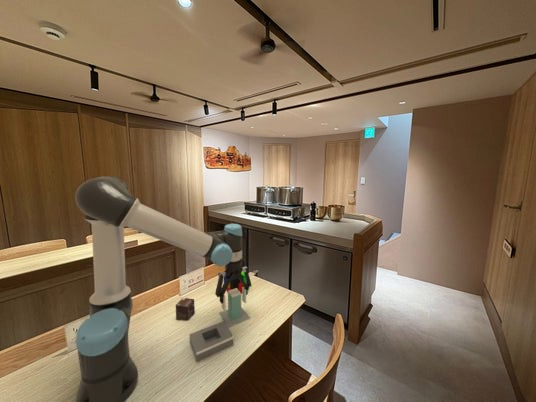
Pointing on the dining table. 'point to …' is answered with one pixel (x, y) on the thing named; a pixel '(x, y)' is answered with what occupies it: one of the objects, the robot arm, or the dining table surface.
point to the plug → (234, 303)
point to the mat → (230, 322)
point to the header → (210, 340)
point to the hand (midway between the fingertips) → (234, 304)
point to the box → (185, 309)
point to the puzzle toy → (236, 283)
